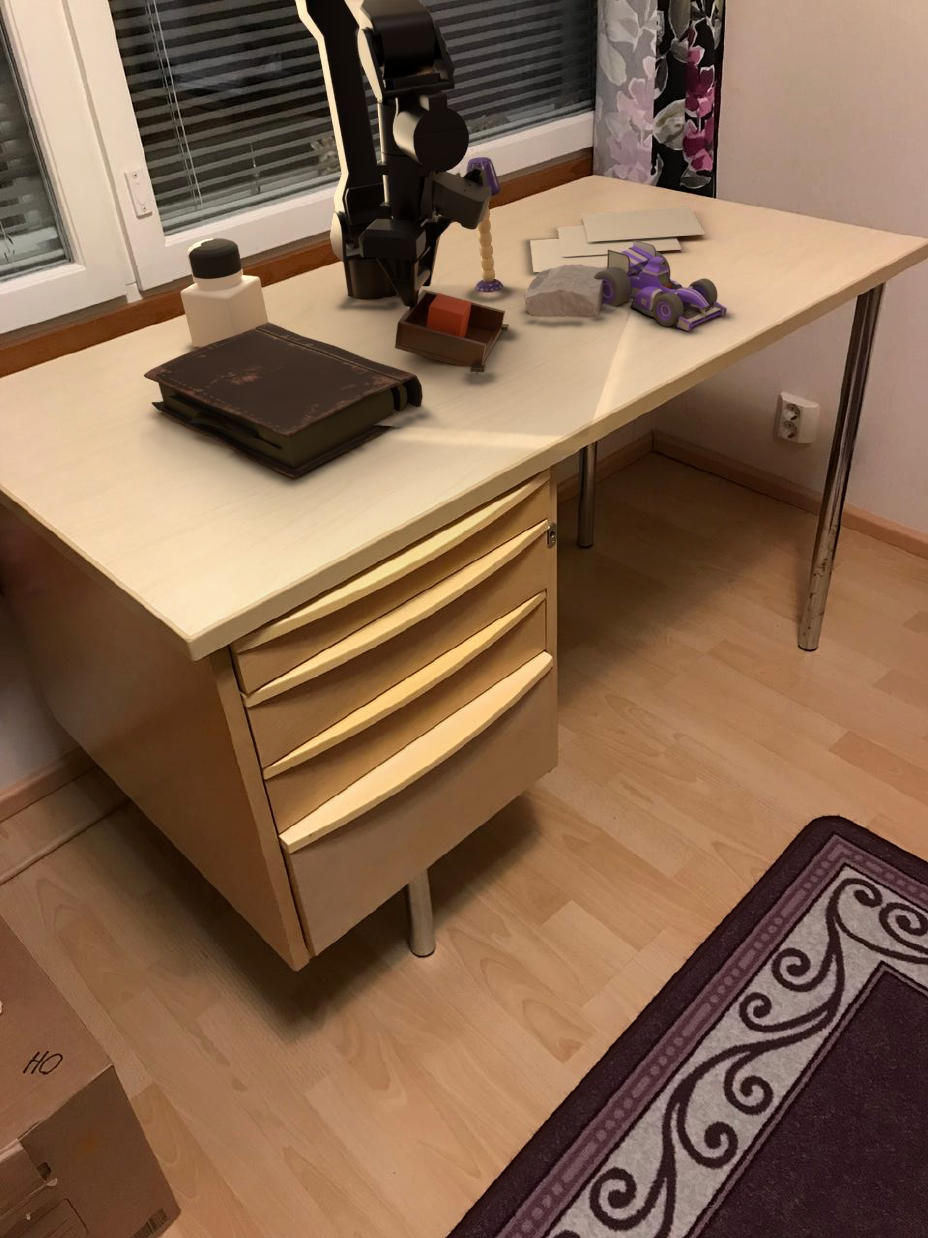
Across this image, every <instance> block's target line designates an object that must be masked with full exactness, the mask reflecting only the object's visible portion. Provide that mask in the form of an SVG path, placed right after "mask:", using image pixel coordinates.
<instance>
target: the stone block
mask: <svg viewBox="0 0 928 1238" xmlns="http://www.w3.org/2000/svg"><path fill="white" fill-rule="evenodd" d="M605 269H607V266H604V267H594V266H585V265H582V264H578V265H574V264H571V265H562V266H559V267H556V268H549V269H548V270H544V271H542V272H536V275H535V277H534V278H533V279H532V280H531V282H530V283H529V285H528V286H527V287H528V288H527V290H526V292H525V293H524V299H525V309H526V311H527V313H528V315H530V316H532V317H533V316H534V317H549V318H551V317H553V318H554V317H560V318H561V317H563V318H564V317H572V318H573V317H574V318H575V317H577V318H594V317H598V316H599V314H600V311H601V307H602V305H603V303H604V302H603V280H598V279H595V278H594V276H595V275H596V274H597V273H598V272H600V271H603V270H605Z"/></svg>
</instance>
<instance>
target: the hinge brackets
mask: <svg viewBox="0 0 928 1238" xmlns="http://www.w3.org/2000/svg"><path fill="white" fill-rule="evenodd" d="M509 329H510V324H509V323H503V325H502V331H501V332H508V331H509ZM469 368H470V369H469V370H470V372H471V373H475V375H478V373H485V372H486V370H487V365H486V364H483V365H472V366H471V367H469Z"/></svg>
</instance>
